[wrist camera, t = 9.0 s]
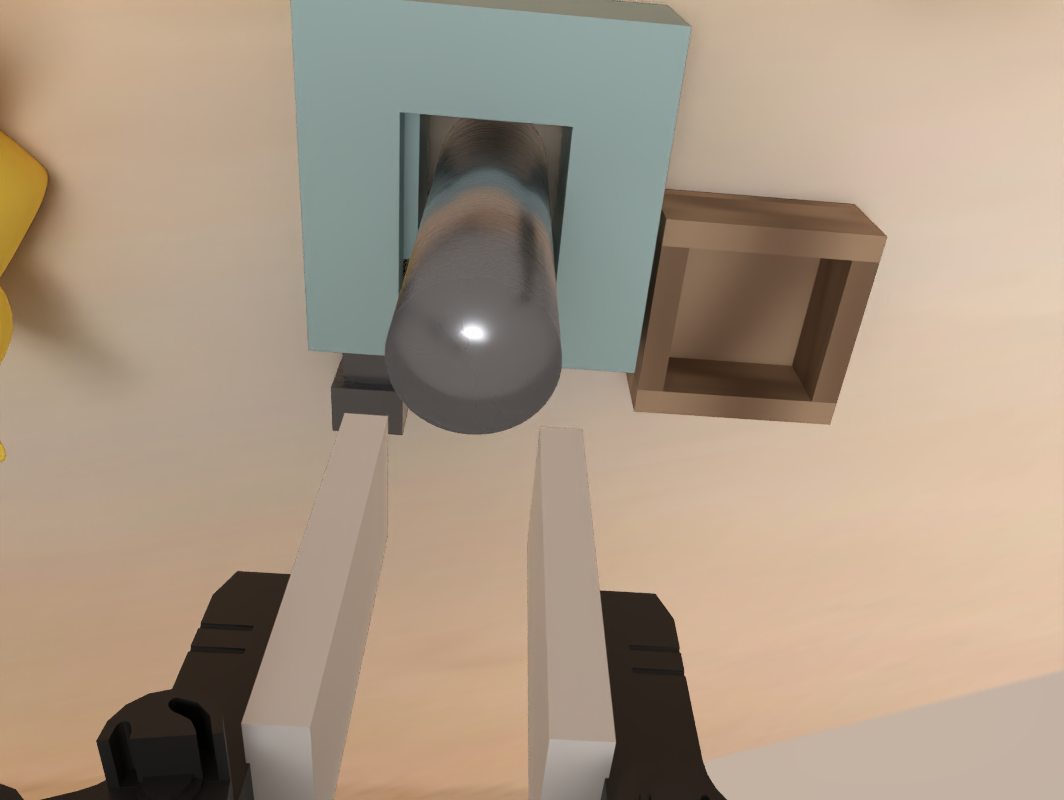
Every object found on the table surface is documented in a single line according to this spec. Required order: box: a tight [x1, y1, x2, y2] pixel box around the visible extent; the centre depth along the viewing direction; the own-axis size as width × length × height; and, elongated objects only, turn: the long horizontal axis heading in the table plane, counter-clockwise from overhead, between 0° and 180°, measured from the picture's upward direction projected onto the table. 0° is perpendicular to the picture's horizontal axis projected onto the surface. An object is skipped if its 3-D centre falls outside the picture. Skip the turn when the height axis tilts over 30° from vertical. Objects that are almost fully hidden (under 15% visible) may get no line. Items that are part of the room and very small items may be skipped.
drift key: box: [331, 259, 408, 435], centre depth 34 cm, size 3×10×4 cm, turn 175°
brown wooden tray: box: [626, 189, 887, 425], centre depth 35 cm, size 8×8×4 cm
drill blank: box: [385, 118, 562, 434], centre depth 27 cm, size 4×4×16 cm
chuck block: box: [290, 0, 692, 373], centre depth 31 cm, size 12×12×5 cm
